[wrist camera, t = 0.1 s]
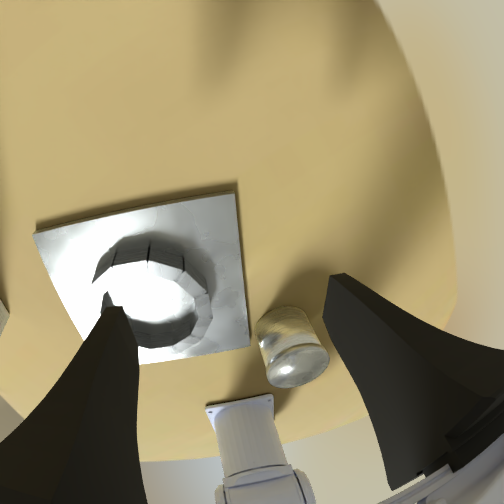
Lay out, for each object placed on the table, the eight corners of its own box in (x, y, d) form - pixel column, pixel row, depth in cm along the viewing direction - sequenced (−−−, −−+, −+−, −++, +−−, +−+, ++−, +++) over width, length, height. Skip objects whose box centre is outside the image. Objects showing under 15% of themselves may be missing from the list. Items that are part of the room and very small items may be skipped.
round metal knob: (306, 338, 27) (325, 378, 23) (254, 350, 27) (268, 393, 22) (309, 299, 25) (333, 341, 21) (251, 311, 24) (266, 358, 20)
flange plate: (248, 341, 26) (254, 359, 24) (102, 362, 24) (100, 381, 22) (233, 190, 18) (239, 203, 16) (35, 230, 16) (22, 246, 14)
